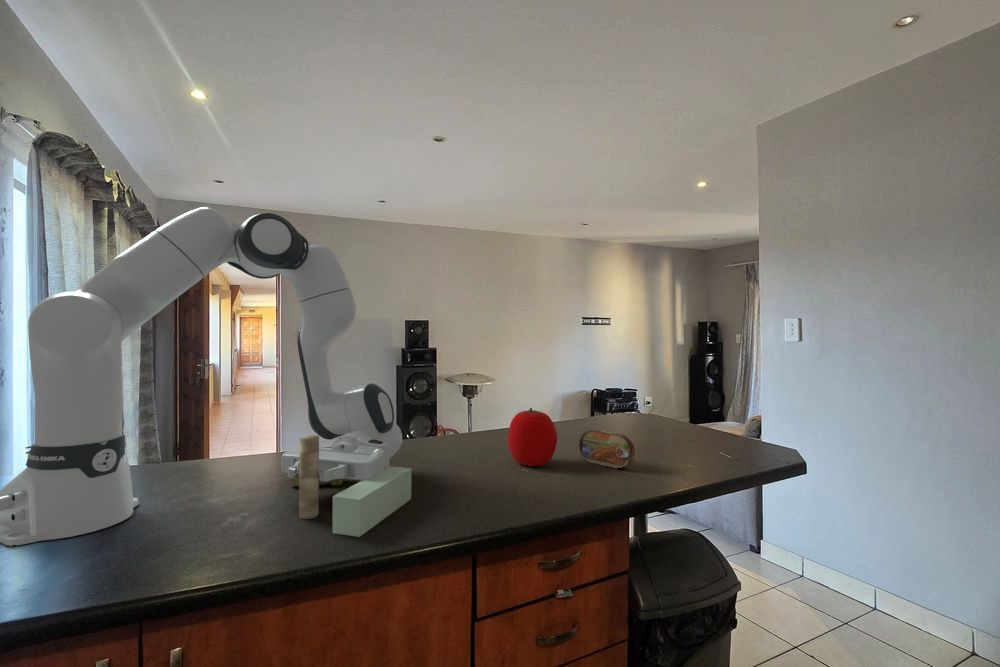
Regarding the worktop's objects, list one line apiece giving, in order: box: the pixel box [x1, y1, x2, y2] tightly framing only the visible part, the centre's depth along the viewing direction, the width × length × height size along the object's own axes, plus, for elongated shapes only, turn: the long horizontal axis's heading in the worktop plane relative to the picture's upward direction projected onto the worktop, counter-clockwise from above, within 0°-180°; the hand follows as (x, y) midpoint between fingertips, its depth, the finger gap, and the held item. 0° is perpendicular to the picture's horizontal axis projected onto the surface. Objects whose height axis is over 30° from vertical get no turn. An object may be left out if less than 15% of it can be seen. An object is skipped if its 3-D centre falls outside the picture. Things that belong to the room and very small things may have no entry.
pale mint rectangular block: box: [331, 465, 412, 538], centre depth 84 cm, size 5×18×6 cm, turn 164°
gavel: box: [290, 476, 344, 488], centre depth 109 cm, size 21×5×10 cm
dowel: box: [298, 434, 320, 520], centre depth 83 cm, size 3×3×14 cm
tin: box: [578, 429, 636, 468], centre depth 117 cm, size 15×3×8 cm, turn 43°
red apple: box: [507, 407, 558, 467], centre depth 117 cm, size 13×11×14 cm
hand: (306, 475), depth 83 cm, fingers open, 5 cm apart
